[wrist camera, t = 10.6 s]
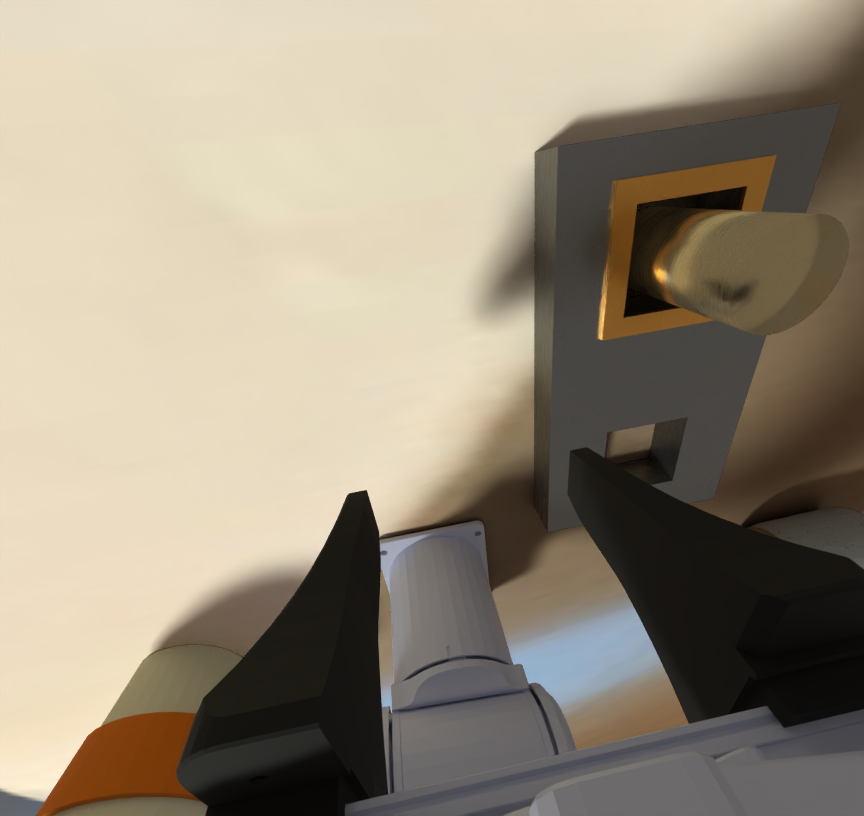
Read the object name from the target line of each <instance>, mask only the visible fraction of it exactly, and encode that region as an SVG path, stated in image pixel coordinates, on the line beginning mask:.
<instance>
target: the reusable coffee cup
mask: <svg viewBox="0 0 864 816" xmlns="http://www.w3.org/2000/svg"><path fill="white" fill-rule="evenodd" d="M241 659H242V657H241V656H239V655H238V654H236V653H234V652H232V651H229V650H226V649H223V648H219V647H214V646H207V645H182V646H175V647H170V648H166V649H163V650H160V651H157V652H155V653H153V654H152V655H150V656H148V657H147V658H146V659H145V660H143V661H142V663H141V664H140V666H139V667H138V669H137V670H136V672H135V674H134V675H133V677H132V678H131V680H130V681H129V683H128V685H127V686H126V688H125V689H124V691H123V692H122V694H121V696H120V697H119V699H118V700H117V702H116V703H115V705H114V707H113V708H112V710H111V711H110V713H109V714H108V716H107V718H106V719H105V721H104V722H103V724H102V725H101V727H99V728H97V729H95V730H94V731H93V732H92V733H91V734H89V735H88V736H87V738H86V739H85V741H84V742H83V744H82V745H81V747H80V749H79V750H78V752H77V753H76V755H75V756H74V758H73V759H72V761H71V762H70V764H69V765H68V767H67V769H66V770H65V772H64V773H63V775H62V776H61V778H60V779H59V781H58V782H57V784H56V785H55V787H54V789H53V790H52V792H51V793H50V795H49V796H48V798H47V799H46V801H45V802H44V804H43V806H42V807H41V809H40V810H39V812H38V813H37V815H36V816H205V814H206V811H207V807H208V806H207V805H205V804H204V803H203V802H202V801H200V800H199V799H198V798H196V797H195V796H194V795H192V794H191V793H190V792H189V791H187V790H186V789H185V788H184V787H183V786H182V785H181V784H180V783H179V781H178V779H177V775H176V769H177V766H178V764H179V761H180V758H181V755H182V752H183V749H184V746H185V743H186V740H187V737H188V734H189V731H190V728H191V726H192V723H193V720H194V718H195V716H196V713H197V711H198V709H199V707H200V705H201V702H202V699H203V697H205V696H206V695H207V694H208V693H209V692H210V691H211V690H212V689H213V688H214V687H215V686H216V685H217V684H218V683H219V682H220V681H221V680H222V679H223V678H224V677H225V676H226V675H227V674H228V673H229V672H230V671H231V670H232V669H233V668H234V667H235V666H236V665H237V664H238V663H239V662H240V660H241Z"/></svg>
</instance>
